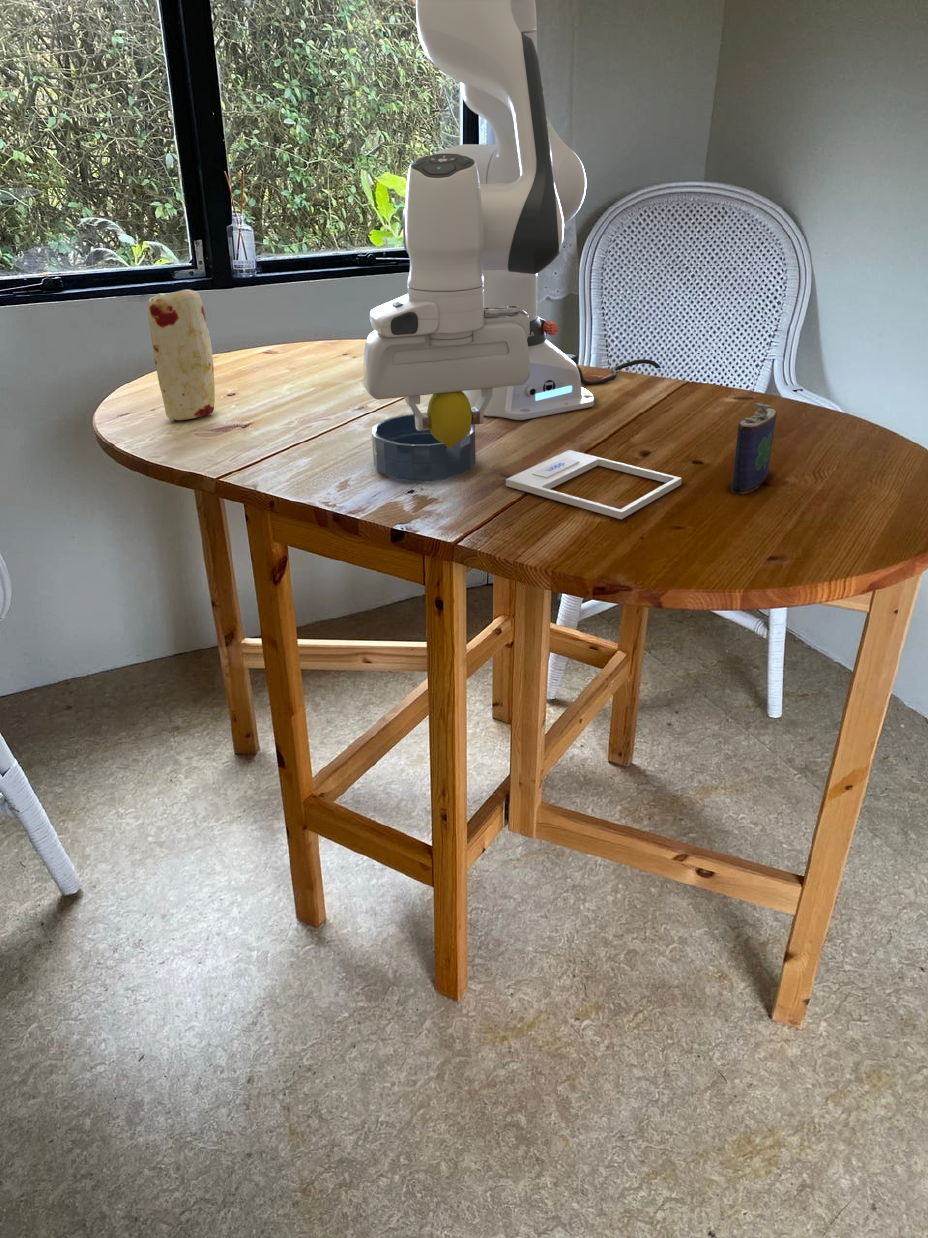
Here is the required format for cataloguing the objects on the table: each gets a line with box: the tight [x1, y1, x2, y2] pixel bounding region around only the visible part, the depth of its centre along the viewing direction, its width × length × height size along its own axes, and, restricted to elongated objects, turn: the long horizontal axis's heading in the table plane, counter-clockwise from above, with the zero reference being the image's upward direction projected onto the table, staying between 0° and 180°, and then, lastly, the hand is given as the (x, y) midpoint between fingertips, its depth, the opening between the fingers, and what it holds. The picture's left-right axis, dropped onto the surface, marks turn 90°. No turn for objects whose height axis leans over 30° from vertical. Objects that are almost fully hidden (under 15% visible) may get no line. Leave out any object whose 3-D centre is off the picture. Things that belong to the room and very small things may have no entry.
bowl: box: [371, 413, 476, 482], centre depth 128 cm, size 14×14×6 cm
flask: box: [730, 402, 777, 495], centre depth 119 cm, size 9×3×11 cm, turn 144°
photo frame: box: [505, 449, 683, 520], centre depth 122 cm, size 15×1×18 cm
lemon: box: [426, 391, 472, 448], centre depth 113 cm, size 6×6×8 cm
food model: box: [147, 289, 216, 421], centre depth 147 cm, size 10×7×20 cm
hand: (449, 426), depth 114 cm, fingers closed on lemon, 5 cm apart
